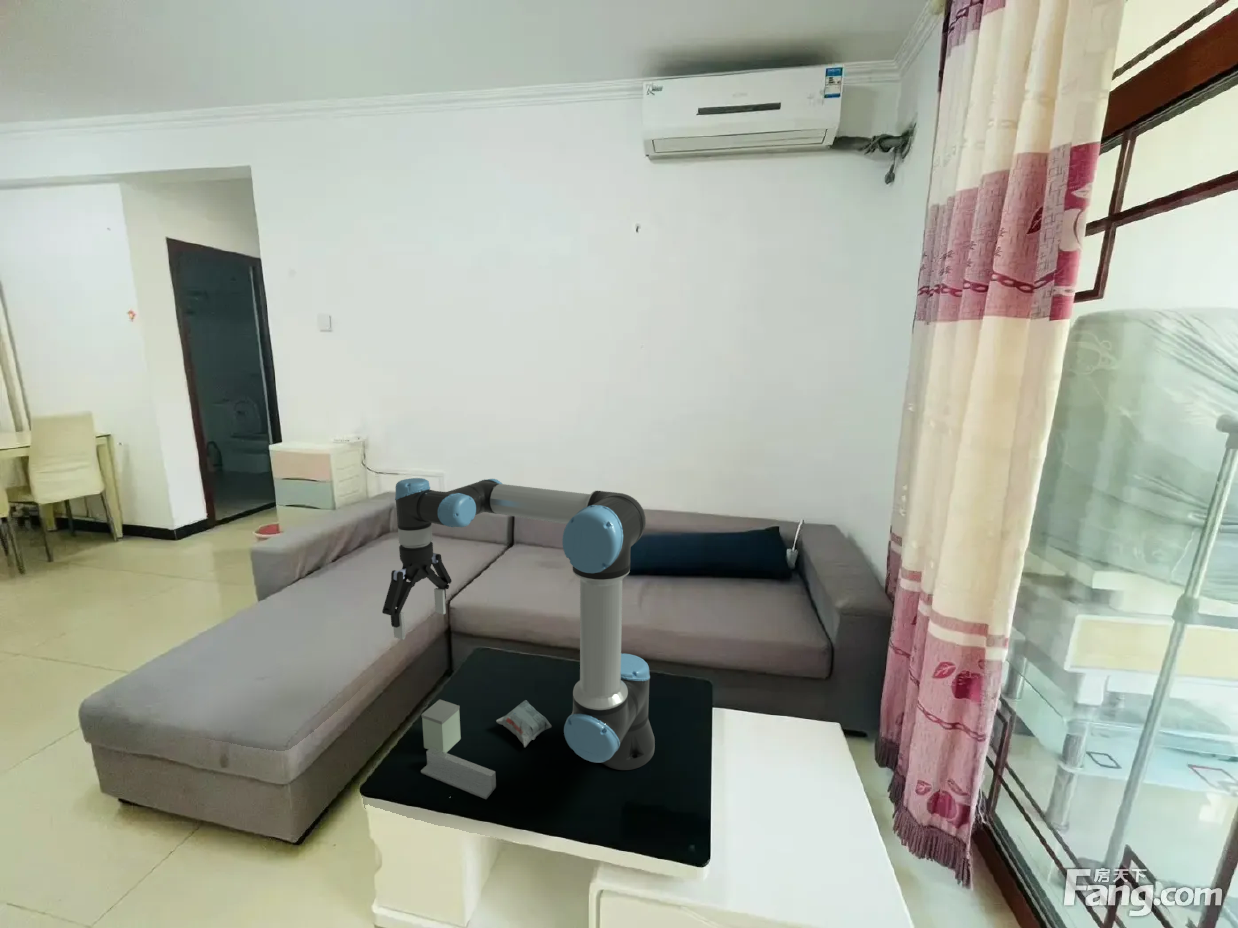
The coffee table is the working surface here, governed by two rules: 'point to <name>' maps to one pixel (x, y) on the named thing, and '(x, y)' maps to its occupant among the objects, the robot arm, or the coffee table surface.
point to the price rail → (460, 773)
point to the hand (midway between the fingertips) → (421, 624)
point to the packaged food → (525, 722)
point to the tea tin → (441, 726)
